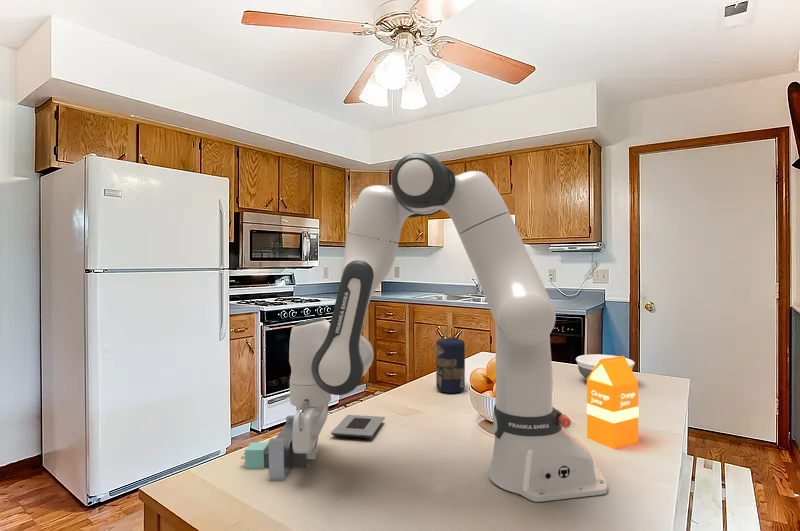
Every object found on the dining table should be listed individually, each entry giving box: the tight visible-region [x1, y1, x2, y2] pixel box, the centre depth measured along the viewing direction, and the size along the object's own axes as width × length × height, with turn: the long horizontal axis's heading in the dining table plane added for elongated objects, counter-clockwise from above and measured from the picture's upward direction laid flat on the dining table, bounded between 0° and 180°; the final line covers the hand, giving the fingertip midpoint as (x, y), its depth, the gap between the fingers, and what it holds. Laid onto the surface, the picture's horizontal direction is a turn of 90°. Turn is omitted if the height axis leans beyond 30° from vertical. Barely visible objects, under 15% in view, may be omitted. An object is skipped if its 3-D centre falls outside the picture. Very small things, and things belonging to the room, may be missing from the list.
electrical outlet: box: [330, 414, 386, 439], centre depth 120 cm, size 13×10×2 cm
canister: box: [435, 336, 466, 394], centre depth 154 cm, size 10×10×18 cm
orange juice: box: [586, 355, 639, 450], centre depth 112 cm, size 8×9×20 cm
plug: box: [240, 441, 310, 470], centre depth 101 cm, size 14×4×4 cm, turn 89°
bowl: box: [575, 353, 636, 380], centre depth 161 cm, size 19×19×8 cm
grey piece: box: [268, 415, 294, 481], centre depth 101 cm, size 3×15×8 cm, turn 179°
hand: (311, 456), depth 101 cm, fingers closed, pressing on plug
